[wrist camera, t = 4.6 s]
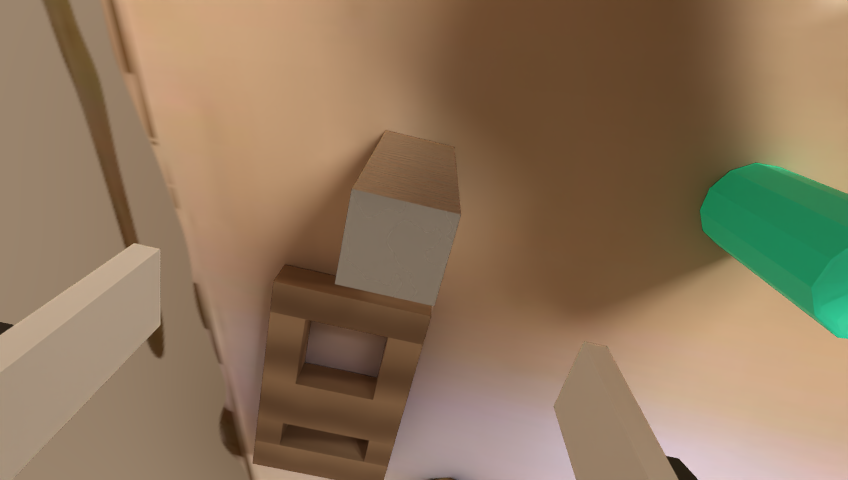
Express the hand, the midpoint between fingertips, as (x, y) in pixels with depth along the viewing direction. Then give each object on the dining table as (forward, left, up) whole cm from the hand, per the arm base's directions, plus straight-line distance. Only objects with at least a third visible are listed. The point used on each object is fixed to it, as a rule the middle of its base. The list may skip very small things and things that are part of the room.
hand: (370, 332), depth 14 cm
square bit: (0, 0, -18) cm, 18 cm away
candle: (-3, +22, -18) cm, 29 cm away
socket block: (+18, -2, -18) cm, 25 cm away
